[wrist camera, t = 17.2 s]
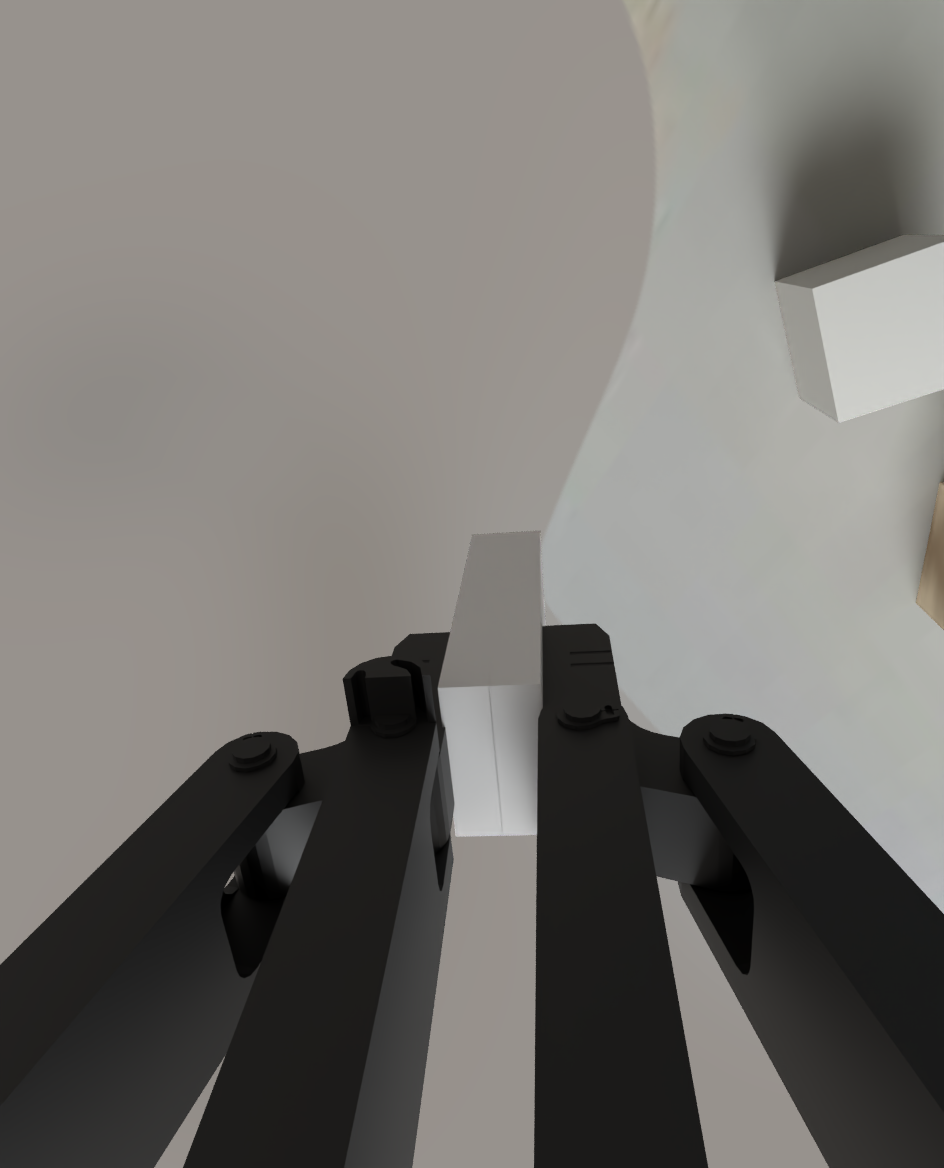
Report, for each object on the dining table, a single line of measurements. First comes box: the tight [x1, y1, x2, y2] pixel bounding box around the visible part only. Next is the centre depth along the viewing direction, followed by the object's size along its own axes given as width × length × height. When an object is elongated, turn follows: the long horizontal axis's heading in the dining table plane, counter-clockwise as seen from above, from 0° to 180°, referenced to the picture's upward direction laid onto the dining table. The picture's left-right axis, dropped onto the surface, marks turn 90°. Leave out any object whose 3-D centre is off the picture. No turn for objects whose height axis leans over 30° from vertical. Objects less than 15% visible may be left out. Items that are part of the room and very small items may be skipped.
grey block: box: [774, 235, 944, 423], centre depth 37 cm, size 6×6×6 cm
